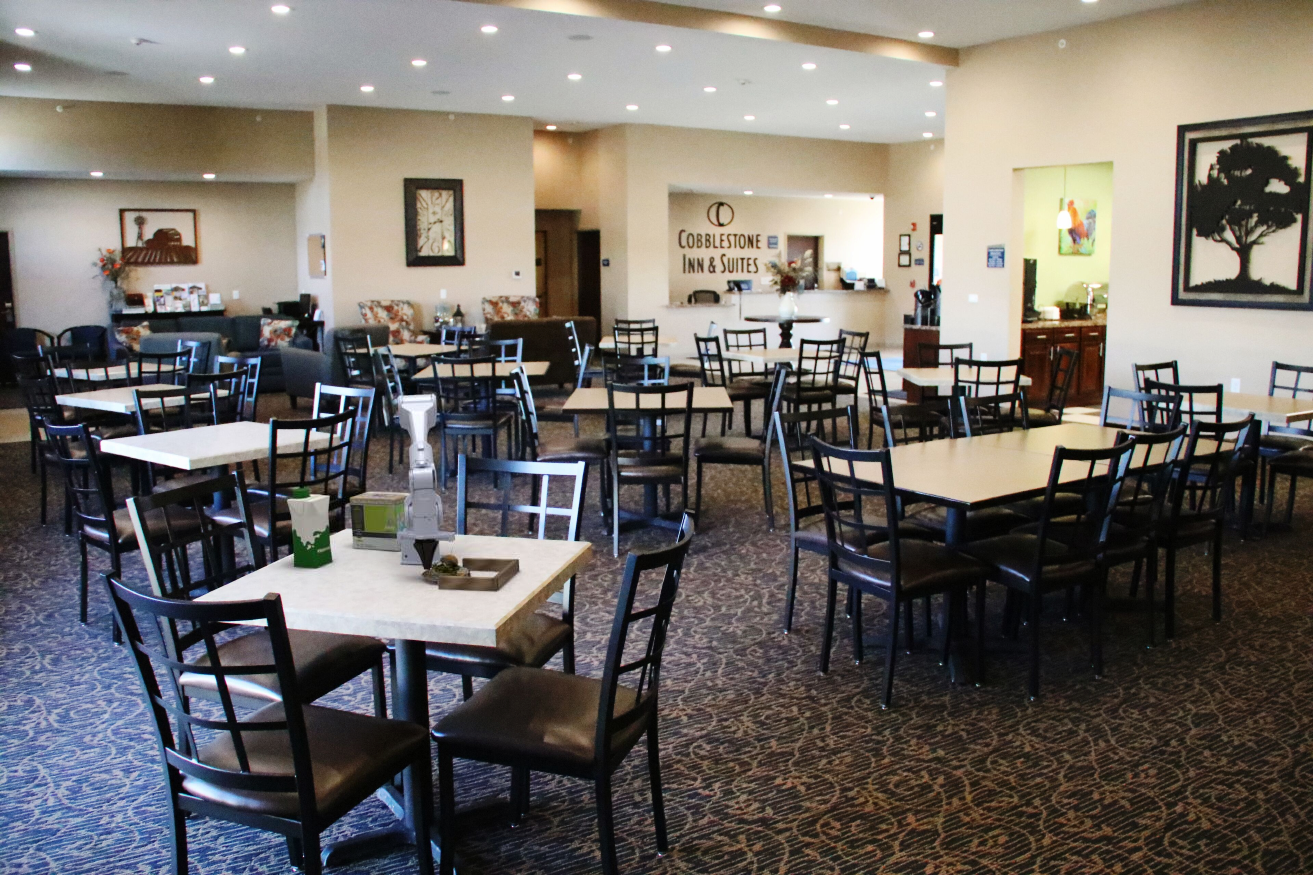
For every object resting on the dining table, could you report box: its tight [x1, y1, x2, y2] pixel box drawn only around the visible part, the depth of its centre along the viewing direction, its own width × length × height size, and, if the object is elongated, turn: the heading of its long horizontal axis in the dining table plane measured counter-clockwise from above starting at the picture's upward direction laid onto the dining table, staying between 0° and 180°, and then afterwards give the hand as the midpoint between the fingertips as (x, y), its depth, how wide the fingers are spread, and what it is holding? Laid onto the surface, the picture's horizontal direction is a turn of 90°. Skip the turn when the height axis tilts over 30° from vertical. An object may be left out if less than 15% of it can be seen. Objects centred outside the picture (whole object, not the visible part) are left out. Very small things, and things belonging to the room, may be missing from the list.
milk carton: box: [286, 487, 333, 569], centre depth 271 cm, size 9×9×20 cm
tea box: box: [349, 490, 411, 552], centre depth 289 cm, size 15×10×15 cm
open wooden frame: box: [437, 557, 520, 592], centre depth 255 cm, size 15×17×3 cm
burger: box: [421, 547, 472, 582], centre depth 257 cm, size 12×12×8 cm
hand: (427, 568), depth 257 cm, fingers closed
